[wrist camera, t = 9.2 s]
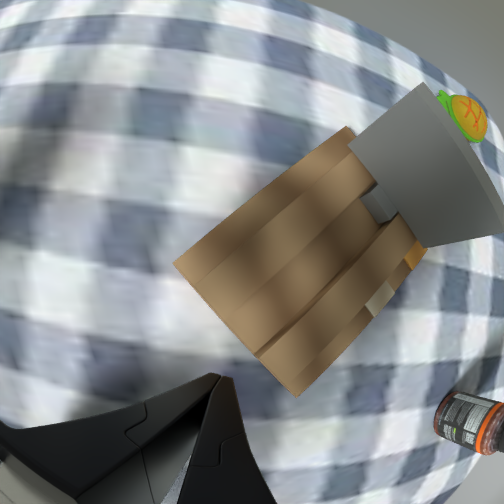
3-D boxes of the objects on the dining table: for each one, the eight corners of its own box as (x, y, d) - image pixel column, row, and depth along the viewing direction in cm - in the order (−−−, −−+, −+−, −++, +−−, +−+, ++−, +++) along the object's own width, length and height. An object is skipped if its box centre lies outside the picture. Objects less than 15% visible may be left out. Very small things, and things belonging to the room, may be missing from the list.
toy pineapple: (476, 153, 32) (502, 141, 27) (432, 138, 30) (461, 121, 25) (463, 112, 33) (487, 97, 28) (418, 93, 31) (443, 73, 26)
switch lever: (403, 259, 25) (500, 243, 14) (328, 160, 24) (405, 94, 14) (424, 232, 26) (513, 209, 15) (355, 139, 25) (429, 76, 15)
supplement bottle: (466, 406, 28) (532, 426, 17) (438, 442, 26) (503, 471, 15) (455, 380, 27) (529, 397, 16) (425, 418, 26) (498, 449, 15)
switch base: (290, 392, 23) (303, 404, 20) (173, 264, 23) (171, 261, 20) (422, 243, 28) (442, 239, 25) (339, 132, 27) (353, 118, 24)
